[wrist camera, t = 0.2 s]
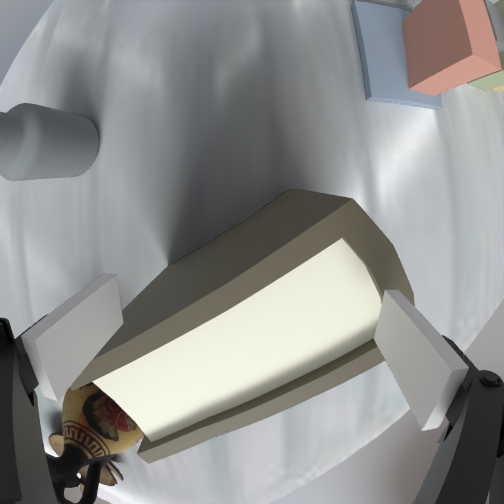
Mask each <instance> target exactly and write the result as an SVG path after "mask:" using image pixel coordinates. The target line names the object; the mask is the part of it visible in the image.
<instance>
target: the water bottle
mask: <svg viewBox="0 0 504 504" xmlns="http://www.w3.org/2000/svg"><path fill="white" fill-rule="evenodd" d="M98 148H99V135H98V131H97V129H96V126H95V125H94V124H93V122H92V121H90V120H89V119H88V118H86V117H83V116H79V115H75V114H72V113H68V112H64V111H60V110H56V109H52V108H48V107H44V106H40V105H36V104H30V103H23V104H19V105H17V106H15V107H13V108H12V109H10V110H9V111H8V112H7V113H4V112H0V174H1V176H3V177H4V178H5V179H7V180H11V181H22V180H34V179H47V178H63V177H75V176H79V175H81V174H82V173H84V172H85V171H87V170H88V169H89V167H90V166H91V165H92V163H93V162H94V160H95V158H96V155H97V152H98Z"/></svg>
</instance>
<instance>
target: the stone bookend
mask: <svg viewBox="0 0 504 504" xmlns="http://www.w3.org/2000/svg"><path fill="white" fill-rule="evenodd" d="M483 2H484V5H485V7H486V10H487V13H488V17H489V20H490V23H491V27H492V30H493V34H494V37H495V41H496V45H497V50H498V54H499V53H501V52H504V23H503V19H502V16H501V13H500V11H499V8H498V7H497V6H496V5H494V4H493V3H491V2H489V1H488V0H483Z"/></svg>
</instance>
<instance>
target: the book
mask: <svg viewBox="0 0 504 504" xmlns="http://www.w3.org/2000/svg"><path fill="white" fill-rule="evenodd" d="M385 290H399V291H400V292H401V293H402V294H403V295H404V296H405V297H406V298H407V299H408V300H409V301H410V303H411V304H412V305H413V306H414V307H415V304H414V294H413V291H412V288H411V286H410V283H409V281H408V278H407V276H406V274H405V271H404V269H403V266H402V264H401V262H400V259H399V257H398V255H397V252H396V250H395V248H394V246H393V244H392V243H391V242H390V241H389V239H388V238H387V237H386V236H385V235H384V233H383V232H382V231H381V230H380V229H379V227H378V226H377V225H376V224H375V223H374V222H373V220H372V219H371V218H370V217H369V216H368V215H367V214H366V212H365V211H364V210H363V209H362V208H361V207H360V206H359V205H358V204H357V202H356V201H355V200H354V199H353V198H347V197H341V196H335V195H329V194H323V193H317V192H311V191H304V190H297V189H289V190H288V191H287V192H285V193H284V194H282V195H281V196H279V197H278V198H276V199H275V200H273V201H272V202H270V203H269V204H267V205H266V206H264V207H263V208H262V209H260V210H259V211H257V212H256V213H254V214H253V215H251V216H250V217H248V218H247V219H245V220H244V221H242V222H241V223H239V224H237V225H236V226H234V227H233V228H231V229H229V230H228V231H226V232H225V233H223V234H222V235H220V236H218V237H217V238H215V239H214V240H212V241H211V242H209V243H207V244H206V245H204V246H203V247H201V248H199V249H197V250H195V251H194V252H192V253H190V254H188V255H186V256H185V257H183V258H181V259H179V260H178V261H176V262H174V263H172V264H171V265H169V266H167V267H166V268H165V269H164V270H163V271H162V272H161V273H160V274H159V275H158V276H157V277H156V278H155V279H154V280H153V281H152V282H151V283H150V284H149V285H148V286H147V287H146V288H145V289H144V290H143V291H142V292H141V293H140V294H139V295H138V296H137V297H136V298H135V299H134V300H133V301H132V302H131V303H130V304H129V305H128V306H127V307H126V308H125V309H124V310H123V311H122V316H123V324H122V326H121V327H120V328H119V329H118V330H117V331H116V332H115V334H114V335H113V336H112V337H111V338H110V339H109V341H108V342H107V343H106V344H105V345H104V346H103V347H102V349H101V350H100V351H99V352H98V353H97V355H96V356H95V357H94V358H93V359H92V360H91V362H90V363H89V364H88V365H87V366H86V368H85V369H84V370H83V371H82V372H81V374H80V375H79V376H78V377H77V379H76V380H75V381H74V382H73V383H72V385H71V386H70V388H71V389H72V391H73V390H75V389H78V388H80V387H82V386H84V385H86V384H88V383H90V382H93V383H94V384H96V385H97V386H98V387H99V388H100V389H101V390H102V391H104V392H105V393H106V394H107V395H108V396H110V397H111V398H112V399H113V400H114V401H115V402H116V403H117V404H118V405H119V406H120V407H121V408H122V409H123V410H124V411H125V412H126V413H127V414H128V415H129V416H130V417H131V418H132V419H133V420H134V421H135V422H136V423H137V425H138V426H139V427H140V429H141V430H142V431H143V432H144V434H145V435H144V437H143V440H142V442H141V445H140V447H139V450H138V452H137V455H138V456H140V457H141V458H142V459H143V460H145V461H146V462H147V463H148V464H149V463H152V462H155V461H157V460H160V459H163V458H165V457H168V456H171V455H173V454H176V453H178V452H181V451H183V450H186V449H188V448H191V447H193V446H195V445H198V444H200V443H202V442H205V441H207V440H209V439H211V438H214V437H217V436H220V435H223V434H225V433H228V432H231V431H234V430H237V429H239V428H242V427H245V426H247V425H250V424H253V423H255V422H258V421H260V420H263V419H265V418H268V417H270V416H272V415H275V414H277V413H279V412H282V411H284V410H286V409H288V408H291V407H293V406H295V405H297V404H299V403H302V402H304V401H306V400H308V399H310V398H312V397H314V396H316V395H319V394H321V393H323V392H325V391H327V390H329V389H332V388H334V387H336V386H338V385H340V384H342V383H344V382H346V381H348V380H350V379H352V378H354V377H356V376H358V375H359V374H361V373H363V372H365V371H367V370H369V369H371V368H372V367H374V366H376V365H378V364H380V363H381V362H383V361H385V358H384V356H383V355H382V353H381V351H380V349H379V347H378V346H377V344H376V342H375V340H374V336H375V332H376V328H377V324H378V319H379V315H380V310H381V306H382V301H383V296H384V291H385Z"/></svg>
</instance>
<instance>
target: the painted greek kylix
mask: <svg viewBox="0 0 504 504" xmlns="http://www.w3.org/2000/svg"><path fill="white" fill-rule="evenodd" d="M49 443H50V445H51V447H52V448H53V450H54V451H55V452H56V454H57V455H58V456H59V457H60V456H61V455H62V453H63V450H64V446H63V444H64V438H63V433H52V434H51V435H50V436H49ZM89 465H90V464H88V465H87V466H85V467H83V468H81V469H80V470H79V472H78V473H80V474H81V478H80V489H81V492H82V493H83V489H84V485H85V482H86V475H87V471H88V467H89ZM106 465H107V466H108V467H109V468H110V469H111V470H113V471H114V472H115V473H116V475H117V476H118V477H119V478H120V479H121V480H122V481H123V476H122V474H121V473H120V471H119V470H118V469H117V468H116V466H115V465H114V464H113V463H112V462H111V461H109V462H108V463H107V464H106ZM106 465H105V466H103V467H102V469H101V473H100V481H99V483H101V484H104V485H108V486H114V485H115V484H117V481H116V479H115V478H114V476H113V474H112V473H111V471H110V470H109V469H108V467H107V466H106Z"/></svg>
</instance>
